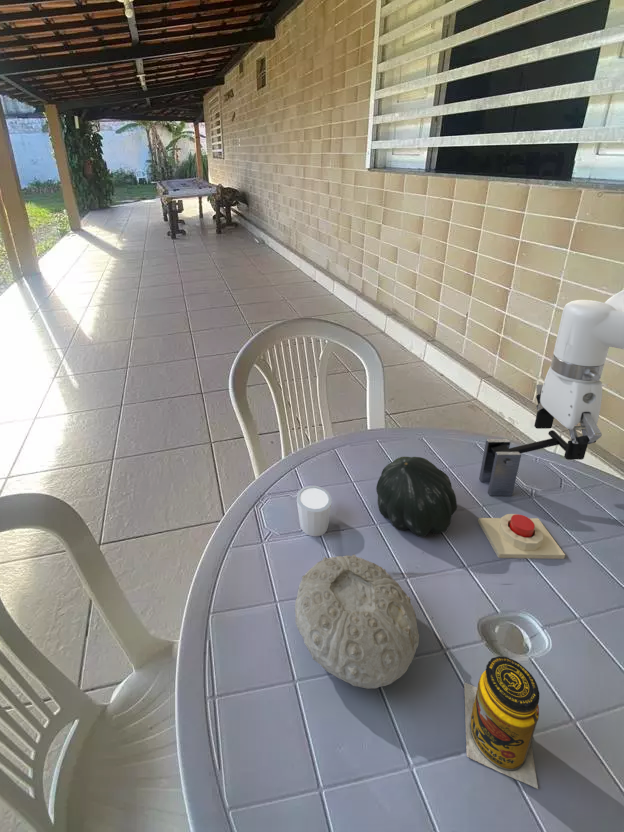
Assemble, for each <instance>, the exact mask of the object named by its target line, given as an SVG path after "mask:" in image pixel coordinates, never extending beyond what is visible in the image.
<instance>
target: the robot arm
mask: <svg viewBox="0 0 624 832" xmlns="http://www.w3.org/2000/svg"><path fill="white" fill-rule="evenodd" d="M610 348H616V349H620V350H624V289H623V290H622V289H621V290H620V291H618V292H616V293H615V294H614V295H612V296H610V297H609V298H608V299H606V301H604V302H603V301H598V300H594V299H593V300H591V299H576V300H572V301H569V302H567V303H566V304H565V305H564V306H563V309H562V312H561V317H560V322H559V325H558V331H557V335H556V338H555V344H554V349H553V353H552V358H551V362H550V366H549V368H548V370H547V373H546V375H545V377H544V380H543V384H542V383H541V384H536V385H535V387H536V388H535V389H536V396H535V399H536V401H537V404H536V407H535V408H536V410H537V411H536V416H535V421H534V425H533V427H534V428H535V429H537V430H539V429H541V430H542V429H545V430H546V429H548V430H549V429H552V427H553V423H554V419H555V420H556V421H558V423H560V424H561V425H562V426H563V427H565V428H566V429H568V433H569V437H570V439H569V440H568V441H567V442H566V443H567V447H566V451H565V450H564V456H563V458H564V459H565V460H568V461H569V460H572V461H573V460H576V461H577V460H584V459H585V456H586V452H587V449H588V445H591V444H596V442H597V441H598V440H599V439H600V438H602V436H603V434H602V432H601V430H600V428H599V426H598V422H599V418H600V412H601V407H602V401H603V382H602V381H601V377H602V374H603V370H604V366H605V363H606V360H607V355H608V352H609V349H610ZM578 424H580V425H578ZM577 431H581V436H578V433H577Z"/></svg>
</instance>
